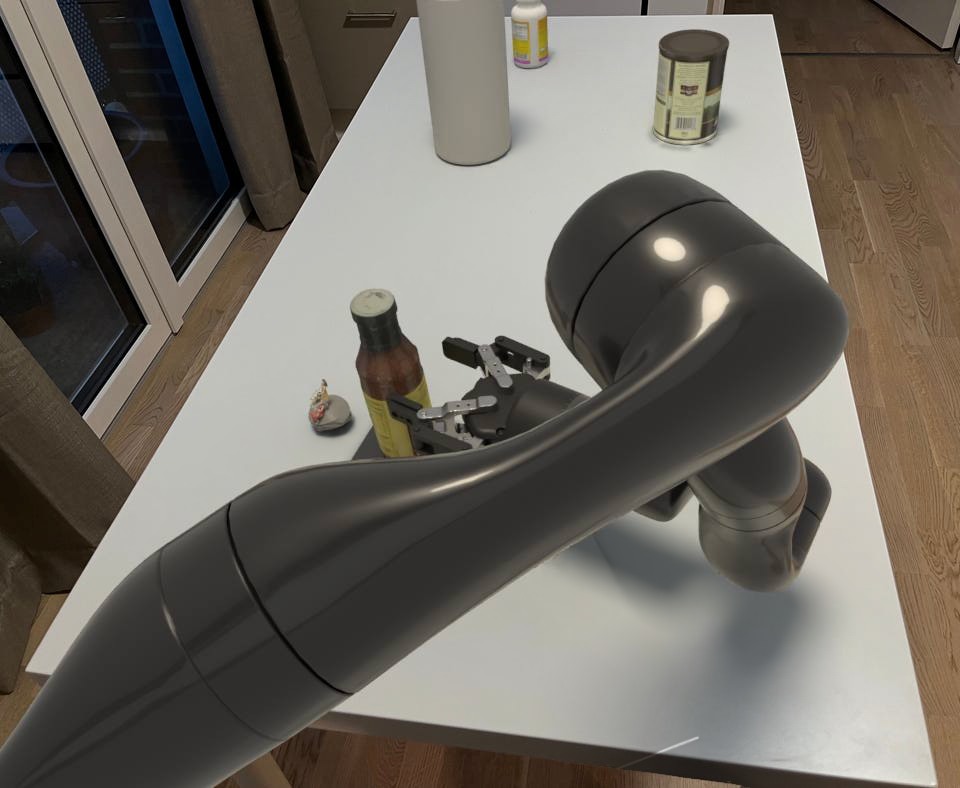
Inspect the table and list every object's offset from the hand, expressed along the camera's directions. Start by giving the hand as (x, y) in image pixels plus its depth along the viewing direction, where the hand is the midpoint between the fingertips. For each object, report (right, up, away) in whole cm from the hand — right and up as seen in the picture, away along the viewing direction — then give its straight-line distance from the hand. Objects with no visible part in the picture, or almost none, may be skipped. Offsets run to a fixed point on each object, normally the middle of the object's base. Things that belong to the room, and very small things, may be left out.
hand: (417, 373), depth 73 cm
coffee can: (+39, +41, +56) cm, 79 cm away
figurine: (-11, -5, +15) cm, 19 cm away
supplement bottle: (+16, +62, +79) cm, 102 cm away
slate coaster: (-2, -8, +11) cm, 13 cm away
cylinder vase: (+5, +38, +57) cm, 69 cm away
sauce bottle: (-2, -8, +10) cm, 13 cm away
